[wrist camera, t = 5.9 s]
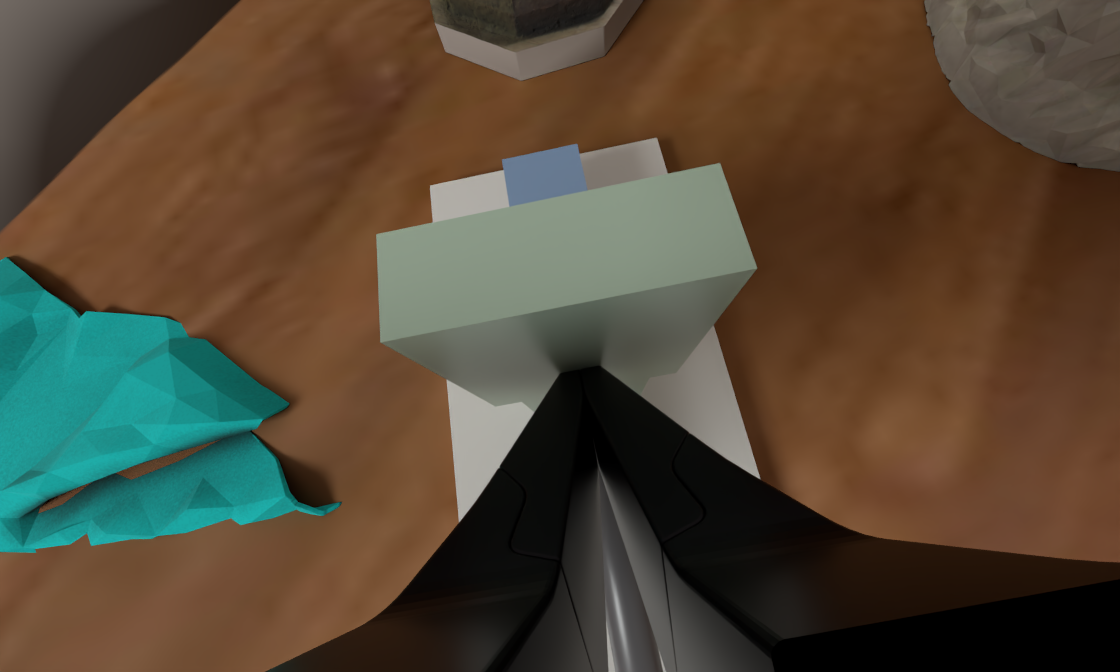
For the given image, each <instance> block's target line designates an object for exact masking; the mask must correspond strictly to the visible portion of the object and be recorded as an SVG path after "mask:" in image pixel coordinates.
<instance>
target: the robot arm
mask: <svg viewBox="0 0 1120 672" xmlns="http://www.w3.org/2000/svg"><path fill="white" fill-rule="evenodd" d="M580 371H581V372H580ZM595 450H596V451H595ZM596 455H597V456H596ZM597 460H598V462H597ZM598 464H599V468H600V472H601V475H602V479H603V482H604V485H605V488H606V491H607V494H608V497H609V500H610V503H611V506H612V509H613V512H614V515H615V518H616V521H617V524H618V527H619V530H620V533H621V536H622V539H623V542H624V545H625V548H626V551H627V555H628V558H629V561H630V564H631V567H632V570H633V573H634V576H635V579H636V582H637V585H638V588H639V591H640V594H641V597H642V600H643V603H644V606H645V609H646V612H647V615H648V618H649V621H650V624H651V627H652V630H653V633H654V636H655V640H656V643H657V646H658V649H659V652H660V655H661V658H662V661H663V664H664V667H665V670H666V672H1120V562H1097V561H1085V560H1072V559H1062V558H1053V557H1044V556H1035V555H1026V554H1017V553H1008V552H999V551H990V550H981V549H972V548H963V547H954V546H945V545H936V544H927V543H918V542H909V541H900V540H891V539H883V538H877V537H873V536H869V535H865V534H862V533H859V532H856V531H853V530H850V529H848V528H846V527H844V526H841V525H839V524H837V523H835V522H833V521H831V520H829V519H828V518H826V517H824V516H822V515H820V514H819V513H817V512H815V511H813V510H812V509H810V508H808V507H807V506H805V505H803V504H801V503H800V502H798V501H796V500H795V499H793V498H791V497H790V496H788V495H786V494H784V493H783V492H781V491H779V490H778V489H776V488H774V487H772V486H771V485H769V484H767V483H766V482H764V481H762V480H761V479H759V478H757V477H755V476H754V475H752V474H750V473H749V472H747V471H746V470H744V469H742V468H741V467H739V466H737V465H736V464H734V463H733V462H731V461H729V460H728V459H726V458H725V457H723V456H722V455H720V454H719V453H717V452H716V451H715V450H713V449H712V448H710V447H709V446H708V445H706V444H705V443H703V442H702V441H701V440H699V439H698V438H697V437H695V436H694V435H693V434H689V432H688V431H687V430H686V429H684V428H683V427H682V426H680V425H679V424H678V423H676V422H675V421H674V420H672V419H671V418H670V417H668V416H667V415H666V414H664V413H663V412H662V411H660V410H659V409H658V408H656V407H655V406H654V405H652V404H651V403H650V402H648V401H647V400H646V399H644V398H643V397H642V396H640V395H639V394H638V393H636V392H635V391H634V390H632V389H631V388H630V387H628V386H627V385H626V384H624V383H623V382H622V381H620V380H619V379H618V378H616V377H615V376H614V375H612V374H611V373H610V372H608V371H607V370H606V369H604V368H603V367H602V366H594V367H589V368H584V369H581V370H573V371H568V372H563V373H559V375H558V377H557V378H556V380H555V381H554V383H553V384H552V386H551V387H550V389H549V390H548V392H547V393H546V395H545V397H544V398H543V400H542V401H541V403H540V404H539V406H538V407H537V409H536V410H535V412H534V414H533V415H532V417H531V418H530V420H529V421H528V423H527V424H526V426H525V427H524V429H523V431H522V432H521V434H520V435H519V437H518V438H517V440H516V441H515V443H514V444H513V446H512V448H511V449H510V451H509V452H508V454H507V455H506V457H505V458H504V460H503V461H502V463H501V464H500V468H498V469H497V470H496V472H495V473H494V475H493V477H492V478H491V480H490V481H489V483H488V484H487V486H486V487H485V488H484V490H483V491H482V493H481V494H480V496H479V497H478V498H477V500H476V501H475V503H474V504H473V505H472V507H471V508H470V509H469V510H468V512H467V513H466V514H465V516H464V517H463V518H462V519H461V521H460V522H459V523H458V525H457V526H456V527H455V528H454V530H453V531H452V532H451V533H450V534H449V536H448V537H447V538H446V539H445V541H444V542H443V543H442V544H441V545H440V547H439V548H438V549H437V550H436V552H435V553H434V554H433V555H432V556H431V558H430V559H429V560H428V561H427V563H426V564H425V565H424V566H423V567H422V569H421V570H420V571H419V572H418V574H417V575H416V576H415V577H414V578H413V580H412V581H411V582H410V583H409V585H408V586H407V587H406V588H405V589H404V590H403V591H402V593H401V594H400V595H399V596H398V597H397V598H396V599H395V600H394V601H393V602H392V603H391V604H390V605H389V606H388V607H387V608H386V609H384V610H383V611H382V612H381V613H380V614H378V615H377V616H376V617H374V618H373V619H371V620H370V621H368V622H367V623H365V624H363V625H361V626H360V627H358V628H356V629H354V630H352V631H349V632H347V633H345V634H343V635H341V636H339V637H337V638H335V639H333V640H331V641H329V642H326V643H324V644H322V645H320V646H318V647H316V648H314V649H312V650H310V651H308V652H306V653H303V654H301V655H299V656H297V657H295V658H293V659H291V660H289V661H287V662H285V663H282V664H280V665H278V666H276V667H274V668H272V669H270V670H268V671H266V672H609V670H608V650H607V629H606V608H605V588H604V567H603V546H602V526H601V505H600V484H599V470H598Z"/></svg>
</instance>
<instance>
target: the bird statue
mask: <svg viewBox="0 0 1120 672" xmlns="http://www.w3.org/2000/svg"><path fill="white" fill-rule="evenodd" d="M642 2H643V0H430V4H431V9H432V13H433V17H434V22H435V25H436V28H437V30H438V33H439V35H440V38H441V41H442V43H443V46H444V49H445V51H446V52H447V53H450V54H453V55H455V56H458V57H460V58H463V59H466V60H468V61H471V62H473V63H476V64H479V65H481V66H484V67H487V68H489V69H492V70H494V71H497V72H500V73H502V74H505V75H508V76H510V77H513V78H515V79H518V80H521V81H522V80H526V79H529V78H533V77H536V76H539V75H543V74H546V73H549V72H553V71H556V70H559V69H563V68H566V67H570V66H573V65H576V64H580V63H583V62H586V61H590V60H593V59H596V58H600V57H603V56H605V55H606V53H607V52H608V51H609V49H610V48H611V46H612V45H613V43H614V42H615V40H616V39H617V38H618V36H619V35H620V33H621V32H622V30H623V29H624V27H625V26H626V25H627V23H628V22H629V20H630V19H631V17H632V16H633V15H634V13H635V12H636V10H637V9H638V7H639V6H640V4H641V3H642Z"/></svg>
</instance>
